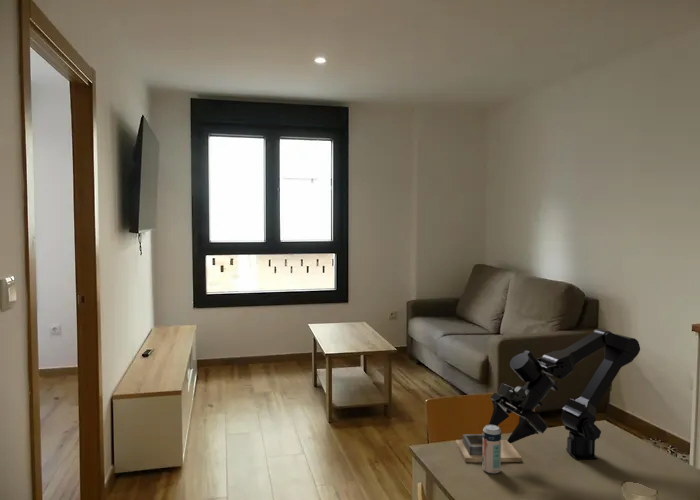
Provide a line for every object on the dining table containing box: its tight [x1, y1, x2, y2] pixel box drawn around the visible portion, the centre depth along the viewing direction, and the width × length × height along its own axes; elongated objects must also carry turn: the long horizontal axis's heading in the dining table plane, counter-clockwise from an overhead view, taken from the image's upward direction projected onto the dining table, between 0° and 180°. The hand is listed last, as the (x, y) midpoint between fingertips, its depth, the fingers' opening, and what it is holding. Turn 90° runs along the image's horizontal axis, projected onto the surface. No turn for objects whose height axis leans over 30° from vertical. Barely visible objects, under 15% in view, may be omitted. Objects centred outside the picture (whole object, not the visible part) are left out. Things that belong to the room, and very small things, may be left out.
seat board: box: [455, 433, 522, 463], centre depth 151 cm, size 16×12×4 cm
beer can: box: [481, 424, 502, 475], centre depth 140 cm, size 5×5×12 cm
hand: (498, 435), depth 141 cm, fingers open, 9 cm apart
